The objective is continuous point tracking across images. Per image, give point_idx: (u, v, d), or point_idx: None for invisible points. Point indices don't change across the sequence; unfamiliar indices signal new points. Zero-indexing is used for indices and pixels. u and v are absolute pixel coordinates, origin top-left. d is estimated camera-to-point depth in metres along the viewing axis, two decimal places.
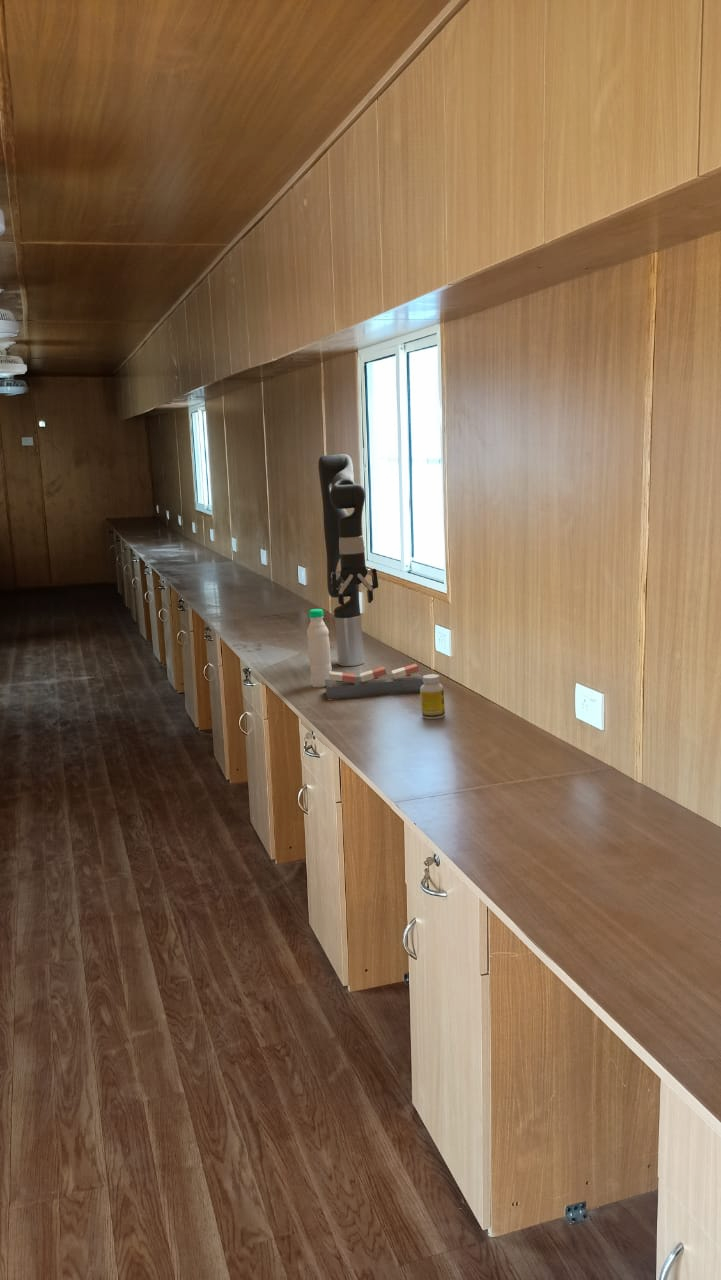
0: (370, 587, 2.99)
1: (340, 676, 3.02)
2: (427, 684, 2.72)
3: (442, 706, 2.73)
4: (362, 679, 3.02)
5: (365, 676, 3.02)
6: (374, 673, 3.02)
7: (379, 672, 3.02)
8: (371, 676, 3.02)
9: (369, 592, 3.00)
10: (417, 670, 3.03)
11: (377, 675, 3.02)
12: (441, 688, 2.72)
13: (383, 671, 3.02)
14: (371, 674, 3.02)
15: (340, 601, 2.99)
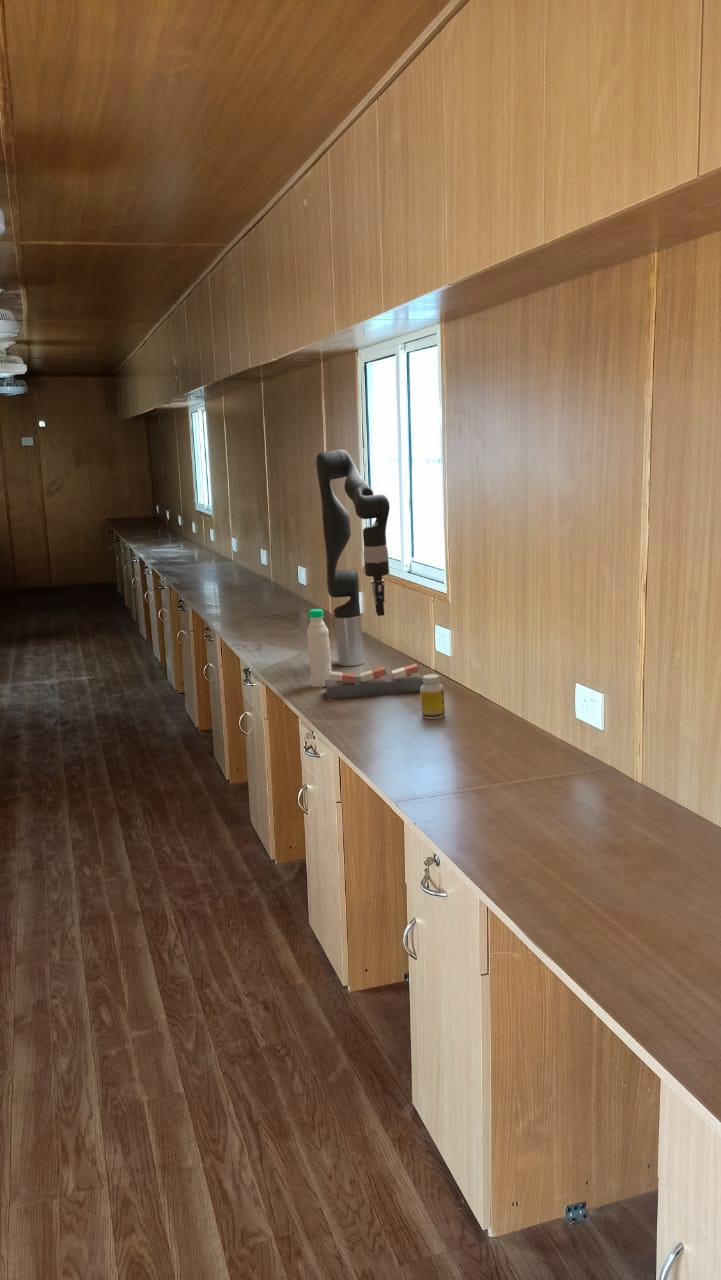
0: (382, 597, 3.11)
1: (340, 676, 3.02)
2: (427, 684, 2.72)
3: (442, 706, 2.73)
4: (362, 679, 3.02)
5: (365, 676, 3.02)
6: (374, 673, 3.02)
7: (379, 672, 3.02)
8: (371, 676, 3.02)
9: None
10: (417, 670, 3.03)
11: (377, 675, 3.02)
12: (441, 688, 2.72)
13: (383, 671, 3.02)
14: (371, 674, 3.02)
15: (382, 610, 3.06)
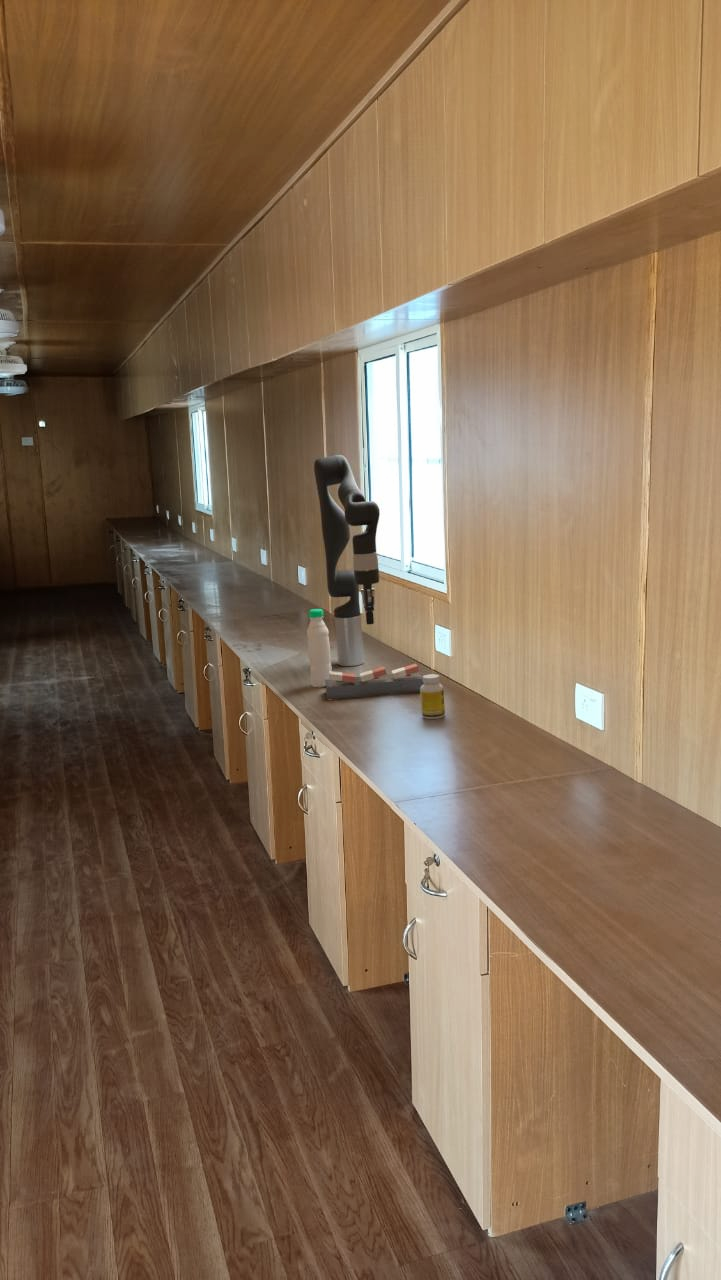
0: None
1: (340, 676, 3.02)
2: (427, 684, 2.72)
3: (442, 706, 2.73)
4: (362, 679, 3.02)
5: (365, 676, 3.02)
6: (374, 673, 3.02)
7: (379, 672, 3.02)
8: (371, 676, 3.02)
9: (372, 613, 3.03)
10: (417, 670, 3.03)
11: (377, 675, 3.02)
12: (441, 688, 2.72)
13: (383, 671, 3.02)
14: (371, 674, 3.02)
15: (372, 619, 3.02)
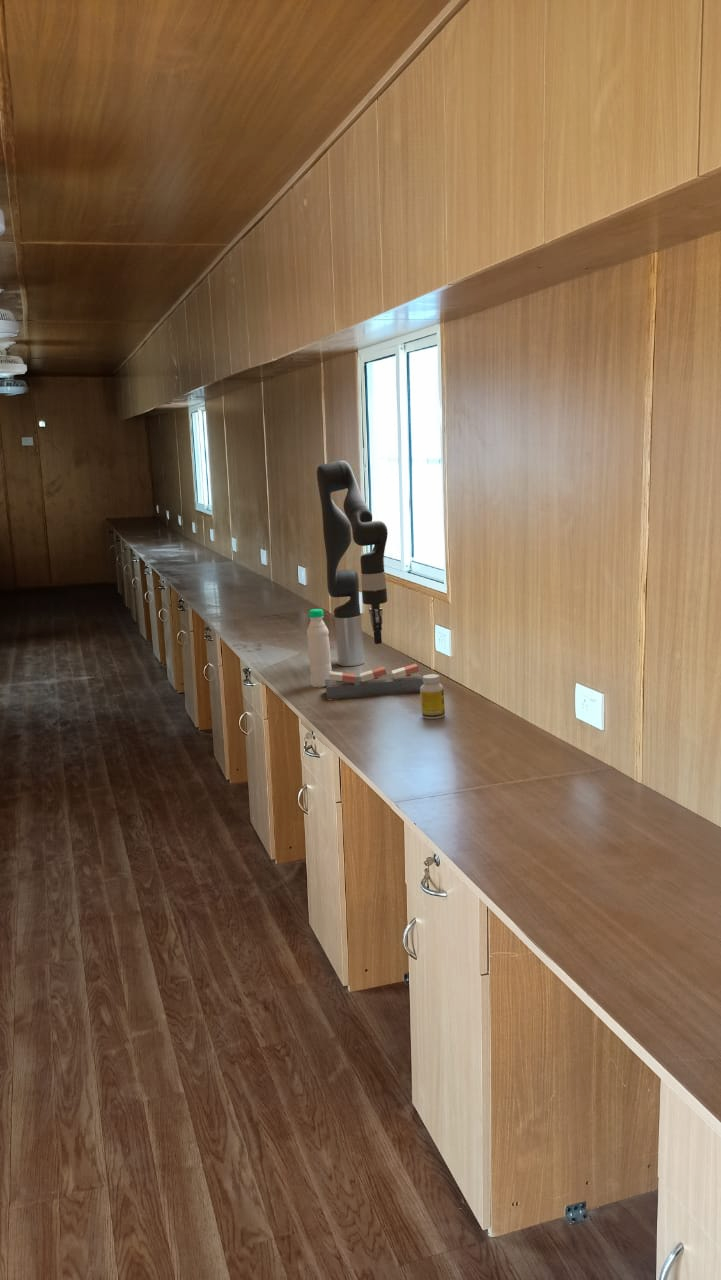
0: None
1: (340, 676, 3.02)
2: (427, 684, 2.72)
3: (442, 706, 2.73)
4: (362, 679, 3.02)
5: (365, 676, 3.02)
6: (374, 673, 3.02)
7: (379, 672, 3.02)
8: (371, 676, 3.02)
9: (380, 632, 3.02)
10: (417, 670, 3.03)
11: (377, 675, 3.02)
12: (441, 688, 2.72)
13: (383, 671, 3.02)
14: (371, 674, 3.02)
15: (380, 639, 3.01)
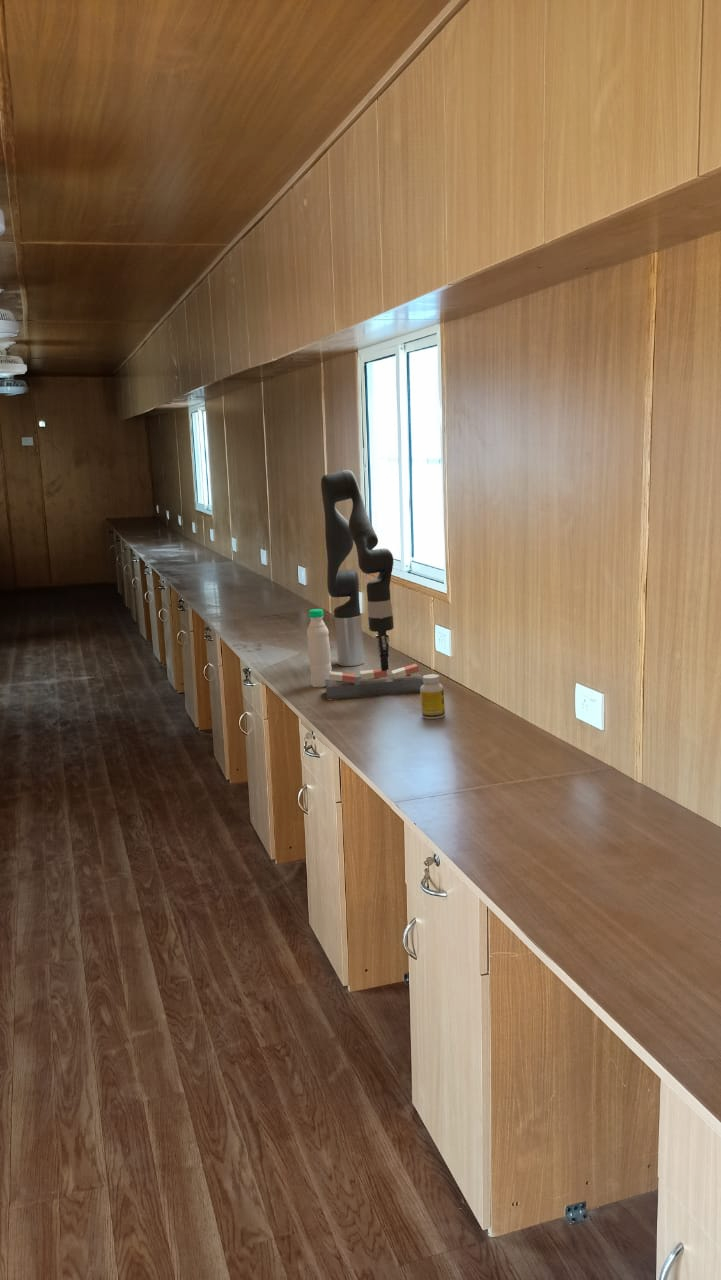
0: None
1: (340, 676, 3.02)
2: (427, 684, 2.72)
3: (442, 706, 2.73)
4: (362, 677, 3.02)
5: (365, 674, 3.02)
6: (375, 673, 3.02)
7: (380, 673, 3.02)
8: (371, 676, 3.02)
9: None
10: (417, 670, 3.03)
11: (377, 676, 3.02)
12: (441, 688, 2.72)
13: (384, 673, 3.02)
14: (372, 674, 3.02)
15: (387, 665, 3.03)
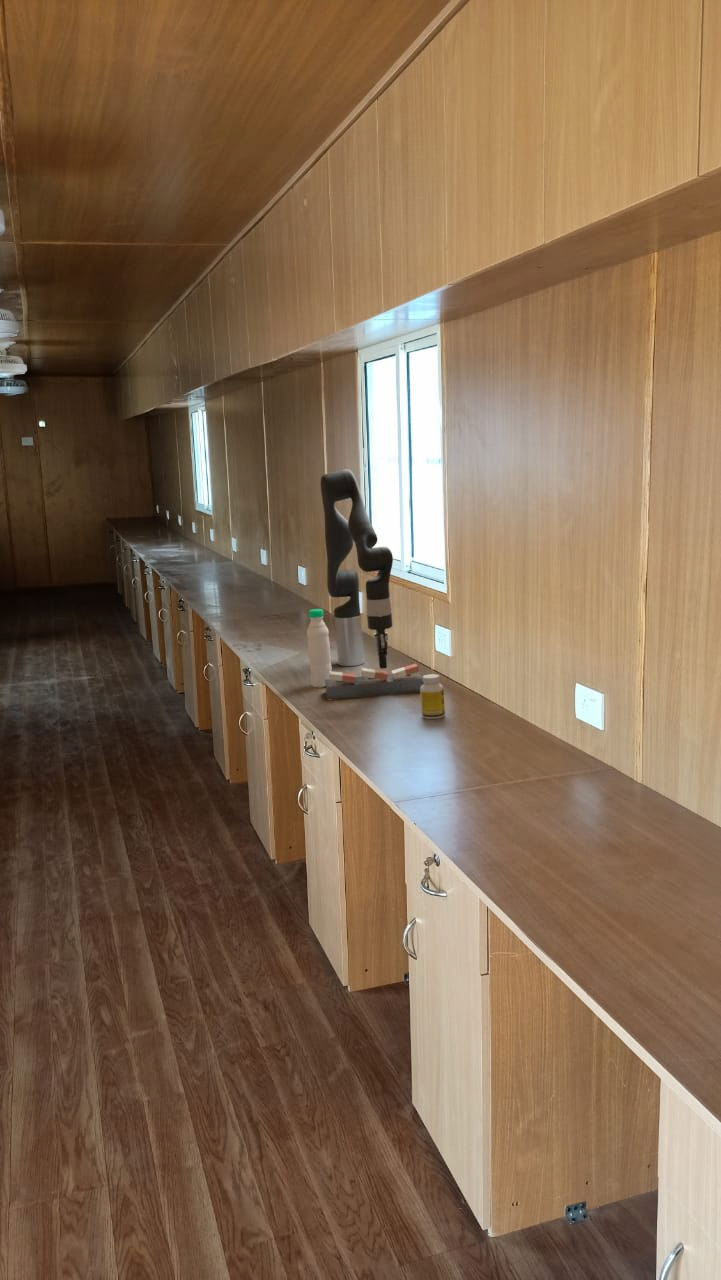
0: None
1: (340, 676, 3.02)
2: (427, 684, 2.72)
3: (442, 706, 2.73)
4: (363, 674, 3.02)
5: (367, 672, 3.02)
6: (376, 674, 3.02)
7: (381, 675, 3.02)
8: (372, 675, 3.02)
9: (385, 657, 3.04)
10: (417, 670, 3.03)
11: (378, 677, 3.02)
12: (441, 688, 2.72)
13: (385, 676, 3.02)
14: (373, 673, 3.02)
15: (385, 663, 3.03)
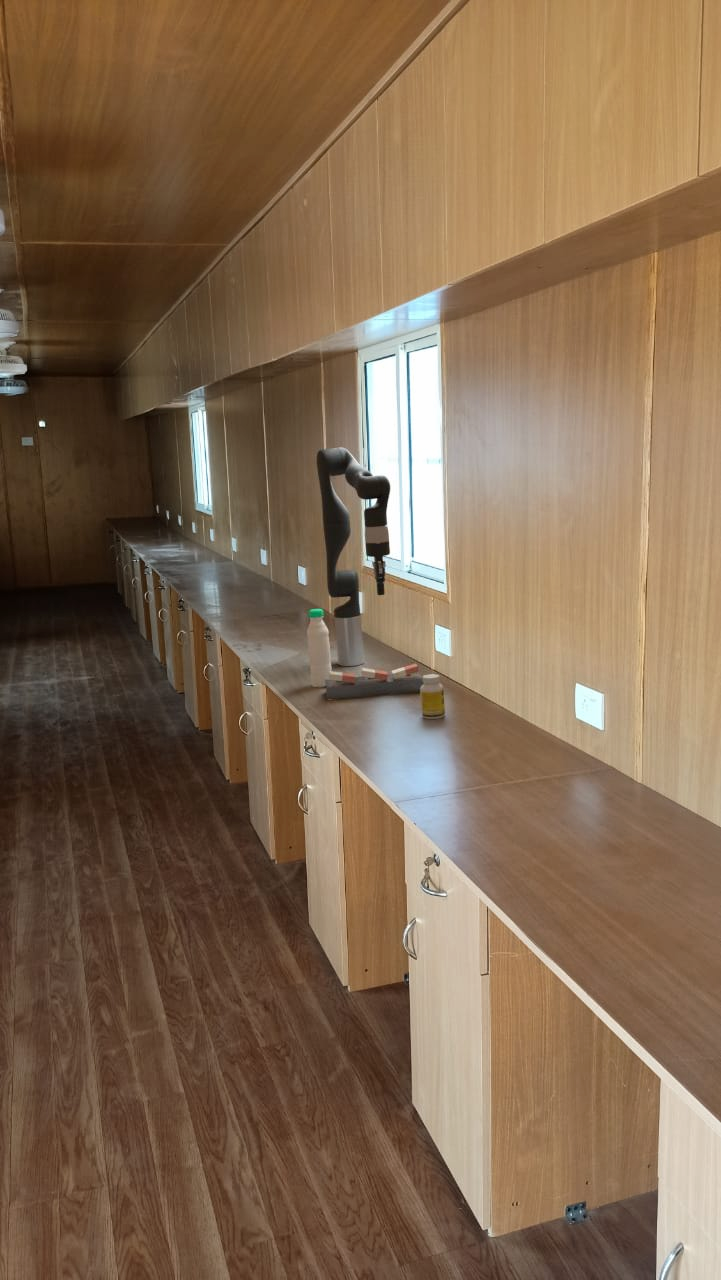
0: None
1: (340, 676, 3.02)
2: (427, 684, 2.72)
3: (442, 706, 2.73)
4: (363, 674, 3.02)
5: (367, 672, 3.02)
6: (376, 674, 3.02)
7: (381, 675, 3.02)
8: (372, 675, 3.02)
9: (383, 584, 3.12)
10: (417, 670, 3.03)
11: (378, 677, 3.02)
12: (441, 688, 2.72)
13: (385, 676, 3.02)
14: (373, 673, 3.02)
15: (383, 590, 3.11)
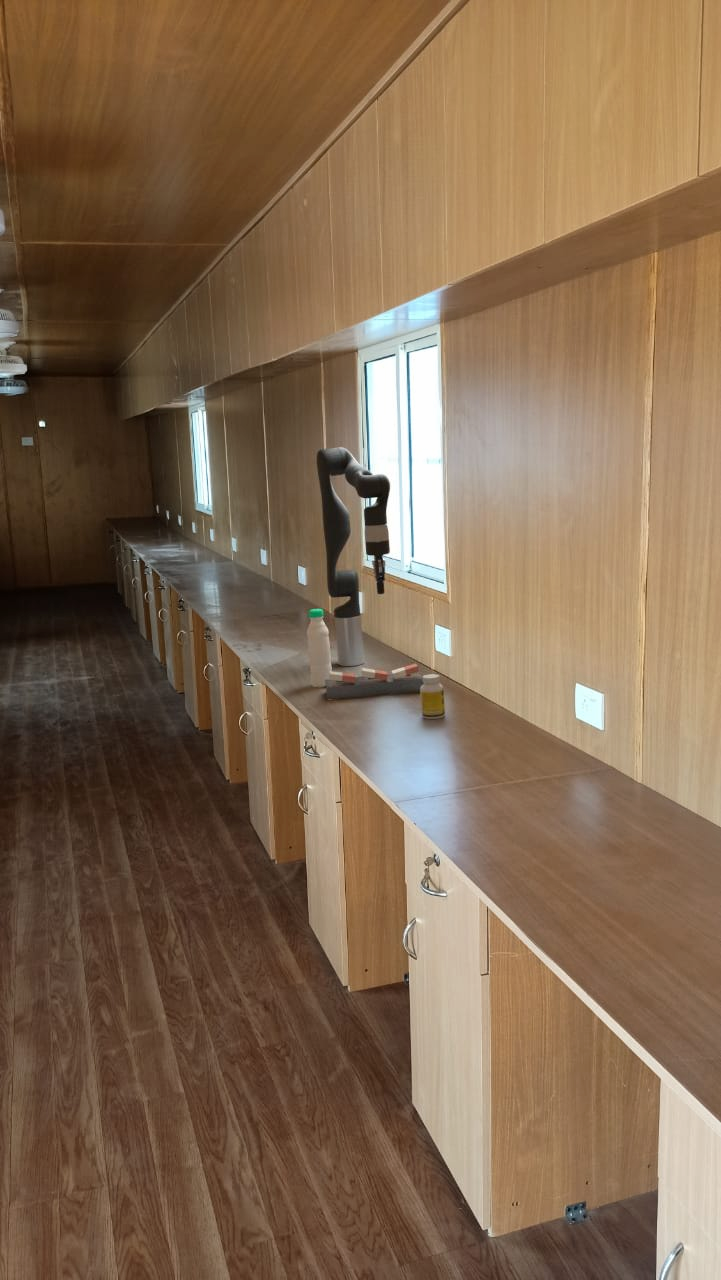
0: None
1: (340, 676, 3.02)
2: (427, 684, 2.72)
3: (442, 706, 2.73)
4: (363, 674, 3.02)
5: (367, 672, 3.02)
6: (376, 674, 3.02)
7: (381, 675, 3.02)
8: (372, 675, 3.02)
9: None
10: (417, 670, 3.03)
11: (378, 677, 3.02)
12: (441, 688, 2.72)
13: (385, 676, 3.02)
14: (373, 673, 3.02)
15: (383, 589, 3.11)
